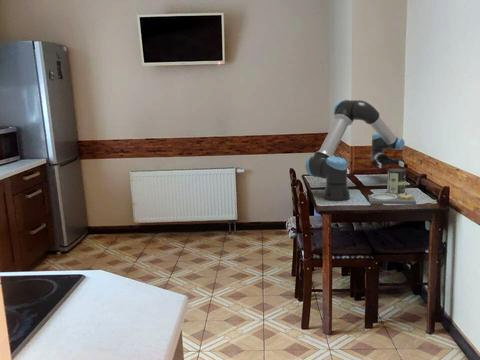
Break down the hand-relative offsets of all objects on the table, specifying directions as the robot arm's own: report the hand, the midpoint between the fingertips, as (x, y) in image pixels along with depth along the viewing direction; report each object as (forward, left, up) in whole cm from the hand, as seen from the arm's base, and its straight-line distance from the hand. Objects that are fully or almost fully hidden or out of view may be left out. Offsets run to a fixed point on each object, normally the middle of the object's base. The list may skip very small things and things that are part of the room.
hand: (391, 165), depth 283 cm
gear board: (-4, -28, -15) cm, 32 cm away
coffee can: (+1, -10, -15) cm, 18 cm away
